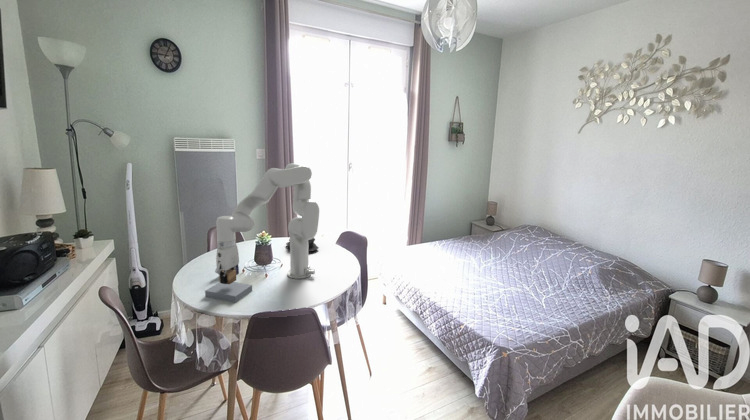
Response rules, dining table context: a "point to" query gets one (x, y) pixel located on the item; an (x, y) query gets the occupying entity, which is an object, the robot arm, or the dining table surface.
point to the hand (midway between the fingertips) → (228, 280)
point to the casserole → (310, 242)
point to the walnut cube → (230, 276)
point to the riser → (228, 291)
